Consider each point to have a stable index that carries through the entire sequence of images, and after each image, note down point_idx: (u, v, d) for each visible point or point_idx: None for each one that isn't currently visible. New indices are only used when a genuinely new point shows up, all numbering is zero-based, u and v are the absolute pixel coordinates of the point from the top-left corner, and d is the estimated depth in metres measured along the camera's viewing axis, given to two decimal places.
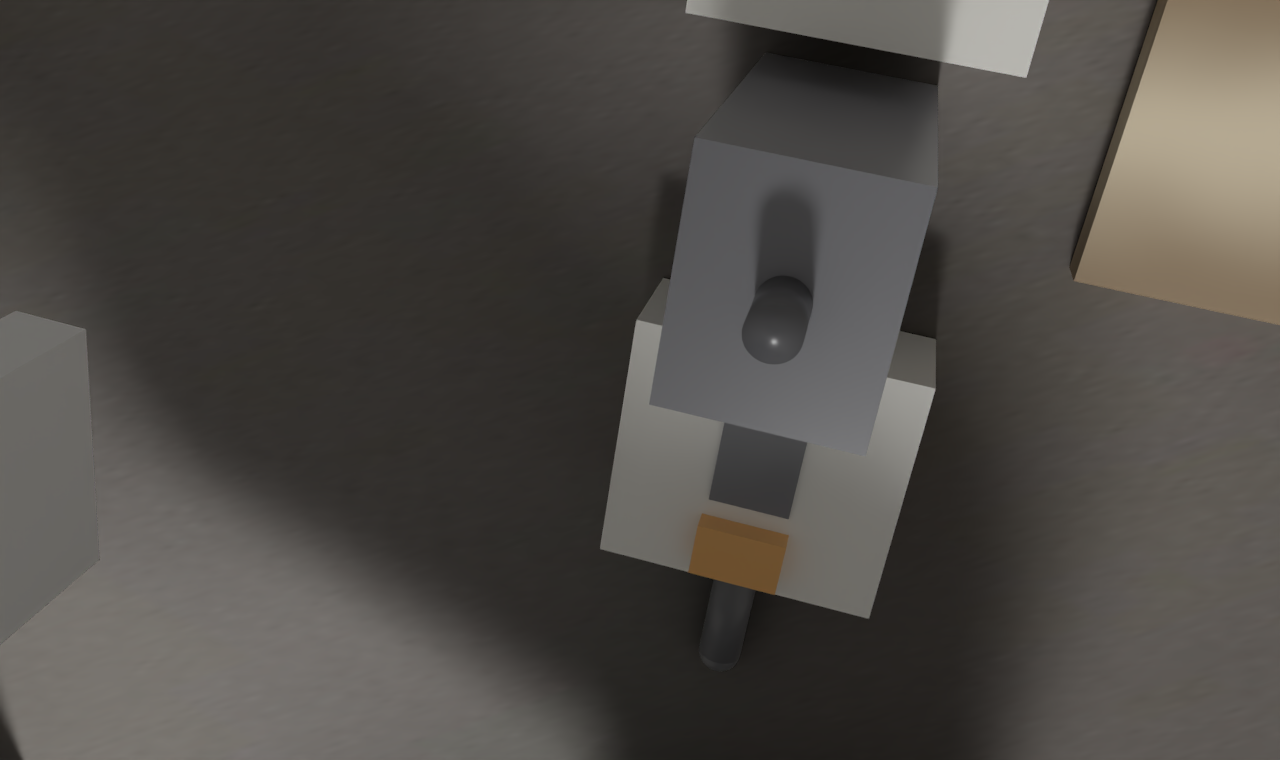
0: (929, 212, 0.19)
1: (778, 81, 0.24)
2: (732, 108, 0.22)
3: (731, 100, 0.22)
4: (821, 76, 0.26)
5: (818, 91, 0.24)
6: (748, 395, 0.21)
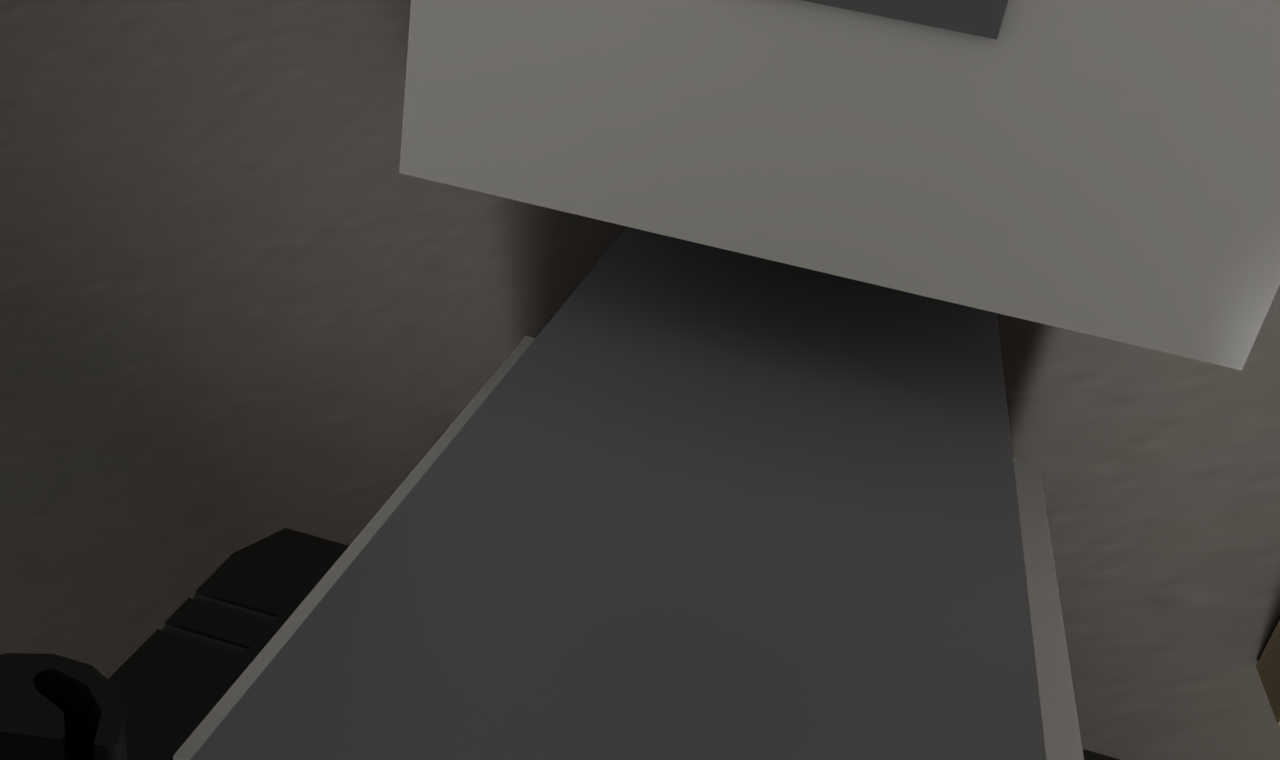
0: None
1: (624, 339, 0.10)
2: (425, 522, 0.07)
3: (445, 468, 0.08)
4: (738, 301, 0.11)
5: (717, 373, 0.10)
6: None
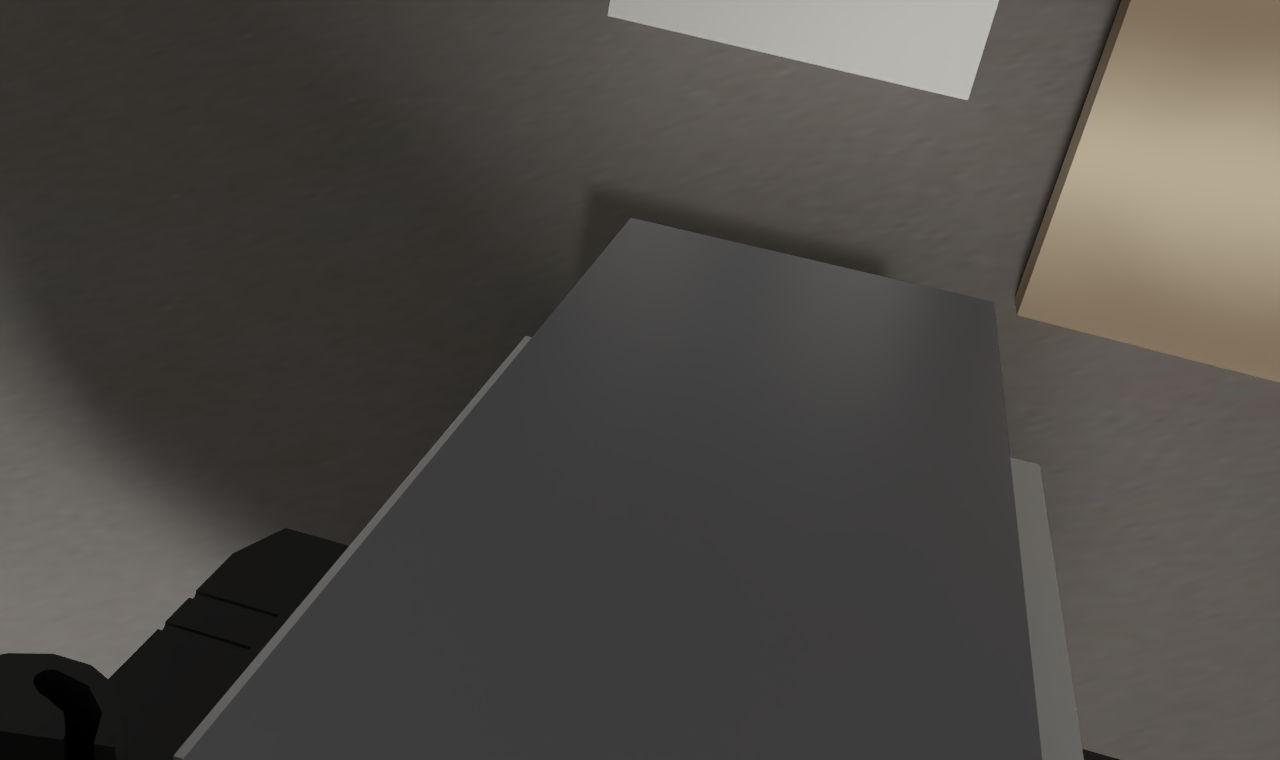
0: None
1: (621, 337, 0.10)
2: (421, 519, 0.07)
3: (442, 465, 0.08)
4: (735, 299, 0.11)
5: (714, 371, 0.10)
6: None
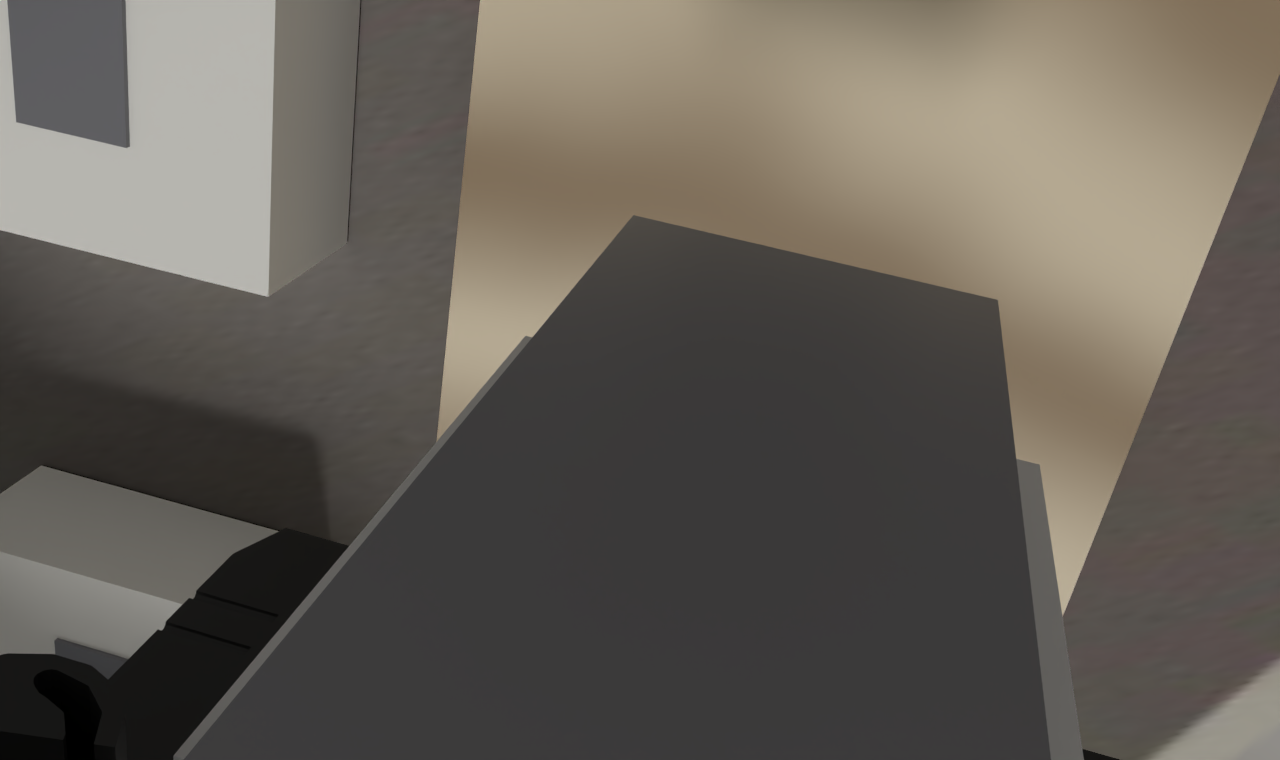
0: None
1: (624, 335, 0.10)
2: (424, 517, 0.07)
3: (445, 463, 0.08)
4: (739, 297, 0.11)
5: (718, 369, 0.10)
6: None
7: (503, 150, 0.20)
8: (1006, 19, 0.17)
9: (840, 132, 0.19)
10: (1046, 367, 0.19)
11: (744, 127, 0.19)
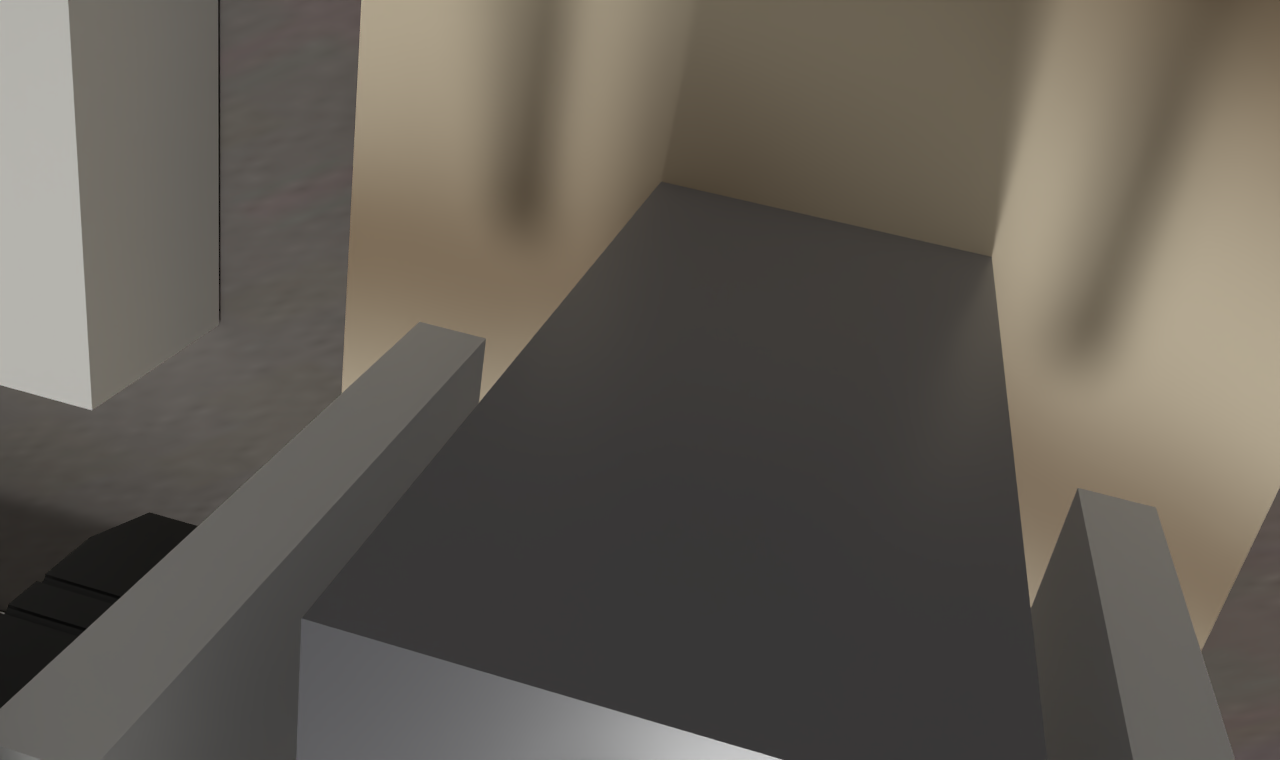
0: None
1: (660, 279, 0.11)
2: (502, 415, 0.09)
3: (515, 375, 0.09)
4: (759, 250, 0.13)
5: (743, 308, 0.11)
6: None
7: (398, 218, 0.15)
8: (1065, 54, 0.13)
9: (837, 202, 0.14)
10: None
11: None
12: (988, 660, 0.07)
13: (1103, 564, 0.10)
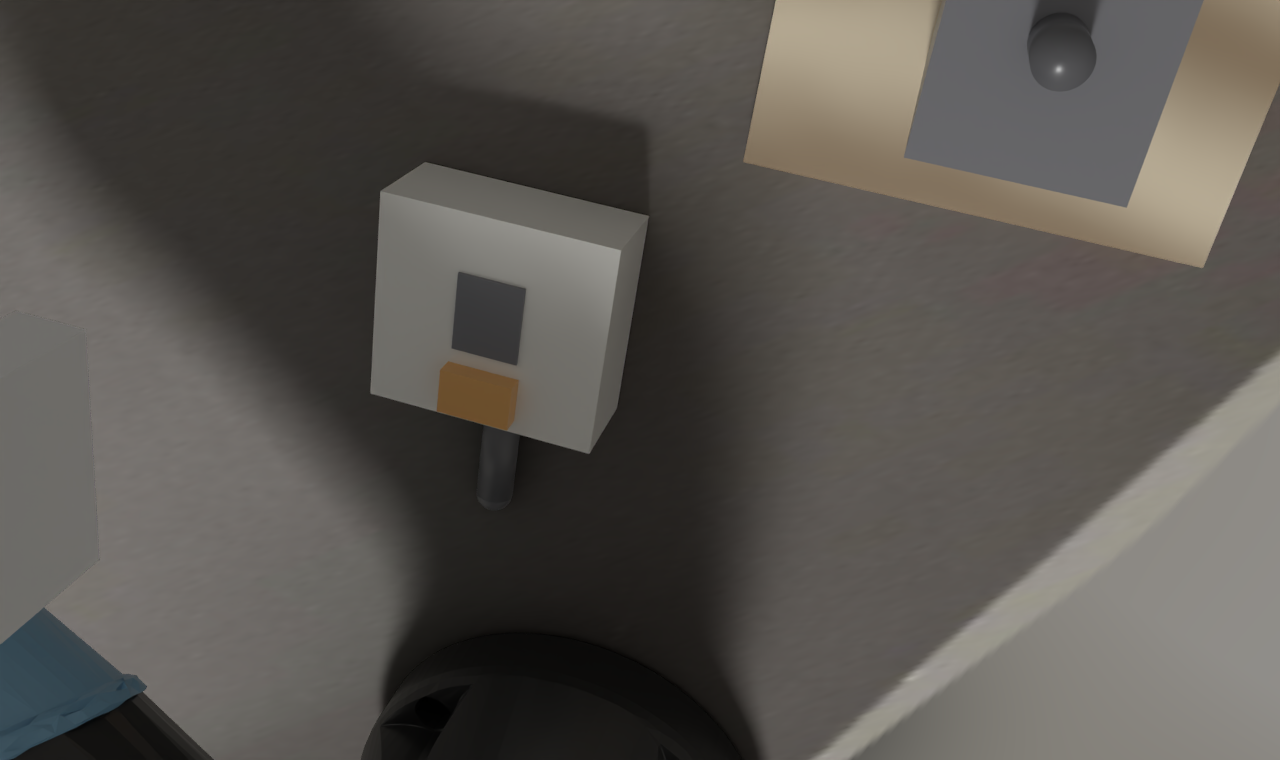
0: None
1: None
2: None
3: None
4: None
5: None
6: (1009, 144, 0.21)
7: None
8: None
9: None
10: (1220, 26, 0.27)
11: None
12: None
13: None
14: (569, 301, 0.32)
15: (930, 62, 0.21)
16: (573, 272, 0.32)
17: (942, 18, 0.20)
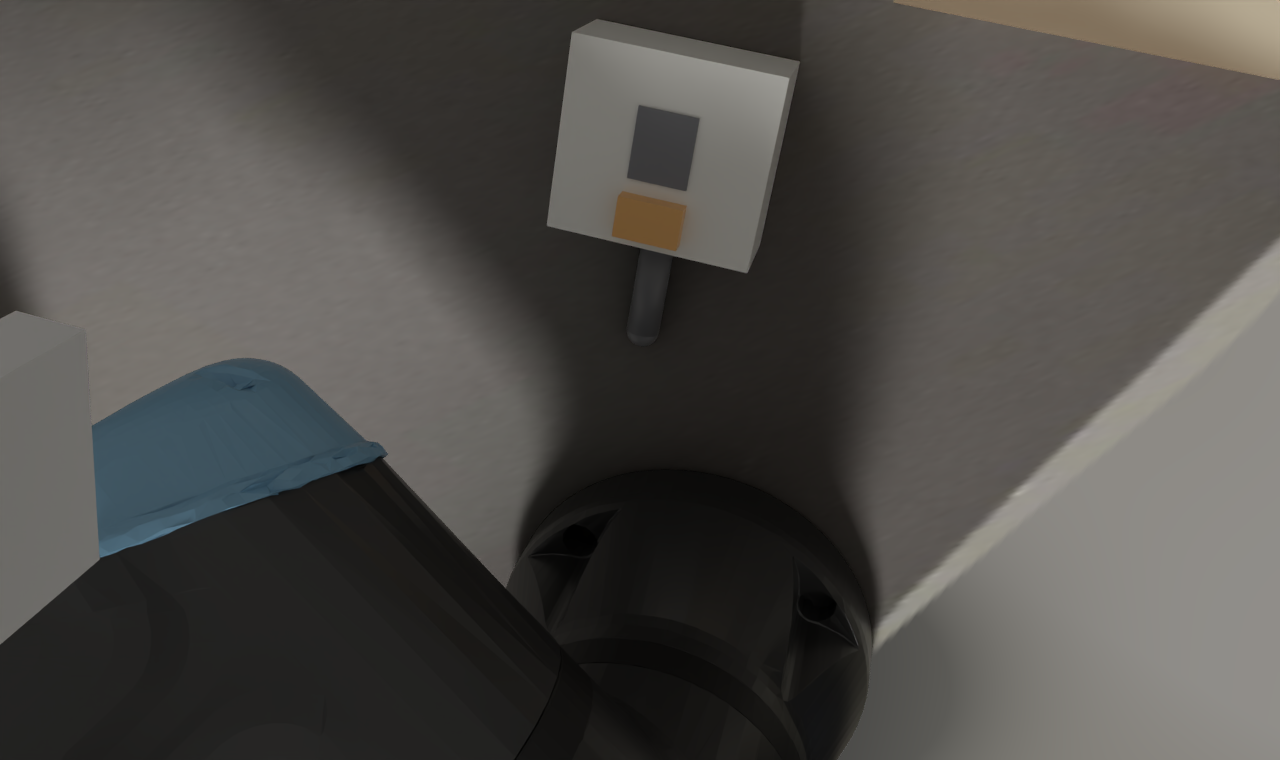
0: None
1: None
2: None
3: None
4: None
5: None
6: None
7: None
8: None
9: None
10: None
11: None
12: None
13: None
14: (739, 128, 0.37)
15: None
16: (744, 100, 0.37)
17: None
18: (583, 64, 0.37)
